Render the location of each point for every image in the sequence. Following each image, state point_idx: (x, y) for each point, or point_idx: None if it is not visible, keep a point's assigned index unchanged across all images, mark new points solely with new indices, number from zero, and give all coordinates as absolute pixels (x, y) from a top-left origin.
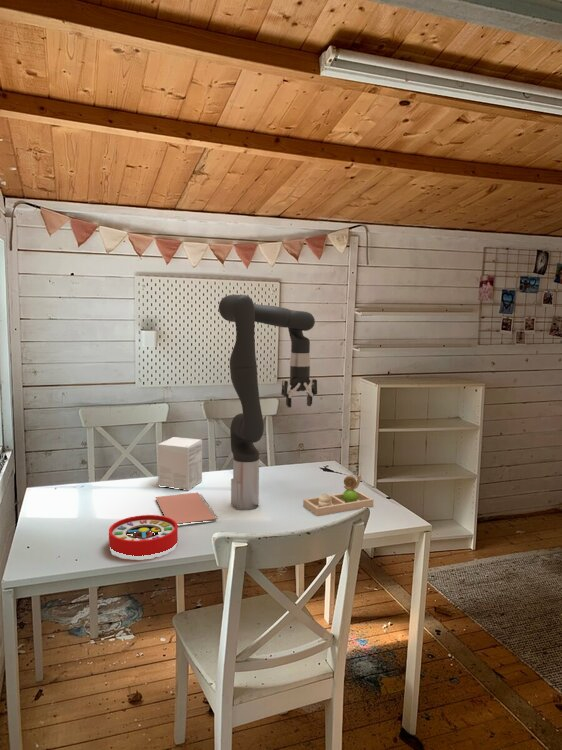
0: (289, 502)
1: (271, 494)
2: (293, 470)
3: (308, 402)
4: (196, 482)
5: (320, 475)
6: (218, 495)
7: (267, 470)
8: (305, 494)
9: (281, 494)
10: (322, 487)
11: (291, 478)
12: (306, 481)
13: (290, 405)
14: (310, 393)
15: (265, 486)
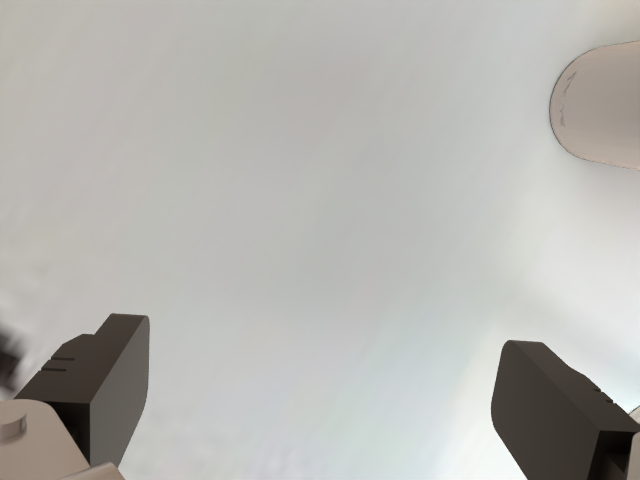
0: (421, 41)
1: (432, 175)
2: (161, 416)
3: (131, 379)
4: (638, 419)
5: (76, 300)
6: (624, 269)
7: (272, 462)
8: (295, 98)
9: (393, 153)
10: (164, 143)
11: (231, 322)
12: (189, 255)
13: (539, 350)
14: (31, 455)
15: (397, 279)
